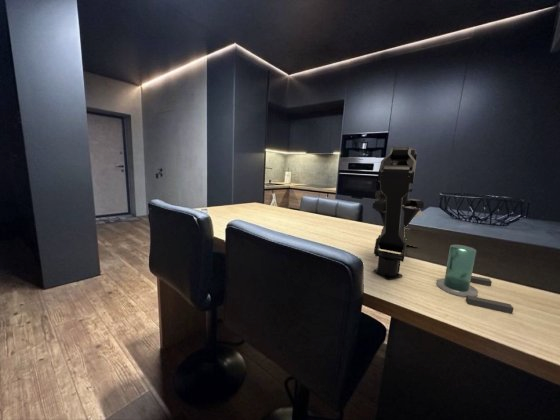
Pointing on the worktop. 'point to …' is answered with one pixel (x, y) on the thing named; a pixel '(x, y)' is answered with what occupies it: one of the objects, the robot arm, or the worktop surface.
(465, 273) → the tin canister
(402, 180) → the robot arm
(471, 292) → the slate coaster
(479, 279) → the cord left
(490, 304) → the cord right
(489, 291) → the worktop surface
